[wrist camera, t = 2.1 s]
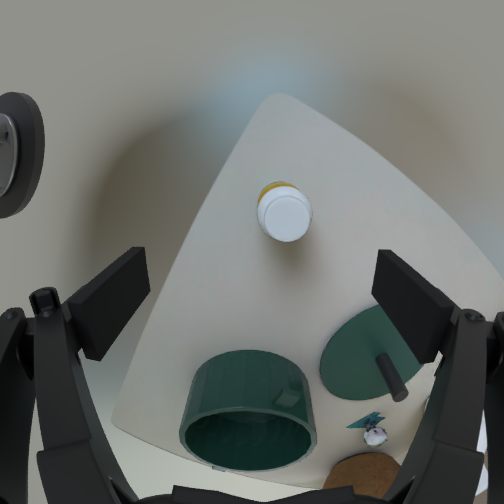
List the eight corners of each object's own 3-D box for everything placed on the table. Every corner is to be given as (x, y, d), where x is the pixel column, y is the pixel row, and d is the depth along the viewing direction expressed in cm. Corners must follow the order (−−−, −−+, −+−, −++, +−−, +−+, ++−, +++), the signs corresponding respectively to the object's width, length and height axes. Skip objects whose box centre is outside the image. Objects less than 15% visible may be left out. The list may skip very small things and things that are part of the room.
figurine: (410, 402, 43) (416, 433, 37) (392, 419, 48) (395, 447, 42) (357, 406, 44) (360, 441, 38) (343, 423, 49) (345, 453, 43)
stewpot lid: (295, 381, 42) (301, 429, 33) (368, 278, 36) (399, 317, 26) (383, 402, 45) (398, 441, 35) (451, 321, 38) (481, 354, 29)
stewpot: (176, 410, 46) (163, 457, 35) (224, 317, 38) (212, 374, 28) (267, 438, 48) (268, 483, 38) (339, 360, 41) (356, 413, 30)
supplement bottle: (310, 210, 33) (328, 231, 24) (272, 232, 34) (276, 261, 25) (287, 172, 32) (299, 178, 23) (249, 195, 33) (244, 210, 24)
